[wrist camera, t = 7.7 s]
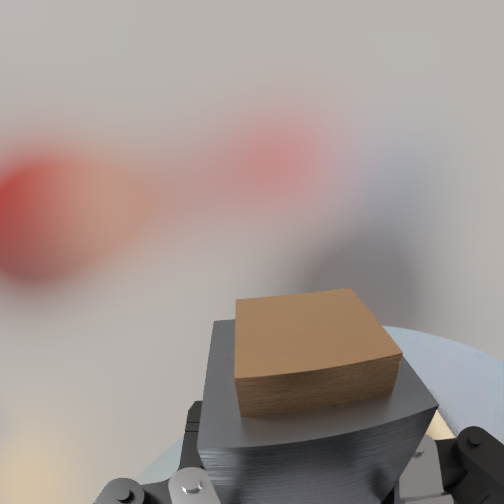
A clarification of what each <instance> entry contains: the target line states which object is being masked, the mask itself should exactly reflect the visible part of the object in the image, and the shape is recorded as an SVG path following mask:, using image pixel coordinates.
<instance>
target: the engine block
mask: <svg viewBox="0 0 504 504" xmlns="http://www.w3.org/2000/svg"><path fill="white" fill-rule="evenodd" d="M402 354H403V352H402V351H401V350H400V348H399V347H398V346H397V344H396V343H395V342H394V341H393V339H392V338H391V337H390V336H389V334H388V333H387V332H386V331H385V329H384V328H383V327H382V326H381V324H380V323H379V322H378V321H377V319H376V318H375V317H374V316H373V314H372V313H371V312H370V311H369V310H368V308H367V307H366V306H365V305H364V303H363V302H362V301H361V300H360V299H359V297H358V296H357V295H356V294H355V293H354V292H353V290H352V289H351V288H345V289H337V290H329V291H321V292H311V293H302V294H292V295H282V296H272V297H261V298H251V299H238V300H236V319H234V320H220V321H214V324H213V331H212V337H211V344H210V351H209V358H208V365H207V372H206V379H205V386H204V394H203V401H202V409H201V417H200V425H199V433H198V441H197V450H198V453H199V455H200V458H201V460H202V462H203V465H204V467H205V469H206V472H207V474H208V476H209V479H210V481H211V483H212V485H213V488H214V490H215V492H216V494H217V496H218V498H219V500H220V503H221V504H379V503H380V502H381V501H384V499H385V498H386V497H387V495H388V494H389V492H390V491H391V489H392V488H393V487H394V481H395V480H396V478H397V477H398V475H399V474H401V473H403V471H404V470H405V468H406V466H407V465H408V463H409V462H410V460H411V458H412V456H413V455H414V453H415V451H416V450H417V448H418V446H419V444H420V442H421V440H422V439H423V437H424V435H425V433H426V431H427V429H428V427H429V425H430V423H431V421H432V419H433V417H434V415H435V413H436V410H437V408H438V406H439V404H438V403H437V401H436V400H435V399H434V397H433V396H432V394H431V393H430V392H429V390H428V389H427V387H426V386H425V385H424V383H423V382H422V381H421V379H420V378H419V377H418V375H417V374H416V373H415V371H414V370H413V369H412V367H411V366H410V365H409V363H408V362H407V361H406V359H405V358H404V357H403V355H402Z"/></svg>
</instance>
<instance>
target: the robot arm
mask: <svg viewBox="0 0 504 504" xmlns="http://www.w3.org/2000/svg"><path fill="white" fill-rule="evenodd" d="M201 409H202V401H195V402H194V404H193V405H192V407H191V408H190V409H189V411H188V416H187V424H186V428H185V434H184V440H183V446H182V452H181V459H180V465H179V468H178V470H177V472H175V473H174V474H173V475H172V476H171V478H169V479H167V480H165V481H162V482H158V483H151V484H145V485H140V484H139V483H137V482H136V481H134V480H132V479H129V478H118V479H114V480H112V481H110V482H109V483H108V484H107V485H106V486H105V487H104V489H103V490H102V492H101V493H100V495H99V496H98V497H97V499H96V500H95V502H94V503H93V504H221V503H220V500H219V498H218V496H217V494H216V492H215V490H214V488H213V485H212V483H211V481H210V479H209V476H208V474H207V472H206V469H205V467H204V465H203V462H202V460H201V458H200V455H199V453H198V450H197V441H198V433H199V425H200V417H201ZM379 504H504V445H503V444H502V443H501V442H499V441H498V440H497V439H496V438H494V437H493V436H492V435H490V434H489V433H488V432H487V431H485V430H484V429H482V428H480V427H476V426H471V427H467V428H465V429H463V430H462V431H461V432H460V434H459V435H458V437H457V438H450V439H442V440H433V438H431V437H430V436H429V435H427V434H425V435H424V437H423V439H422V440H421V442H420V444H419V446H418V448H417V450H416V451H415V453H414V455H413V456H412V458H411V460H410V462H409V463H408V465H407V466H406V468H405V470H404V471H403V473H401V474H399V475H398V477H397V478H396V480H395V481H394V487H393V488H392V489H391V491H390V492H389V494H388V495H387V497H386V498H385V499H384V501H381V502H380V503H379Z"/></svg>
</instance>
